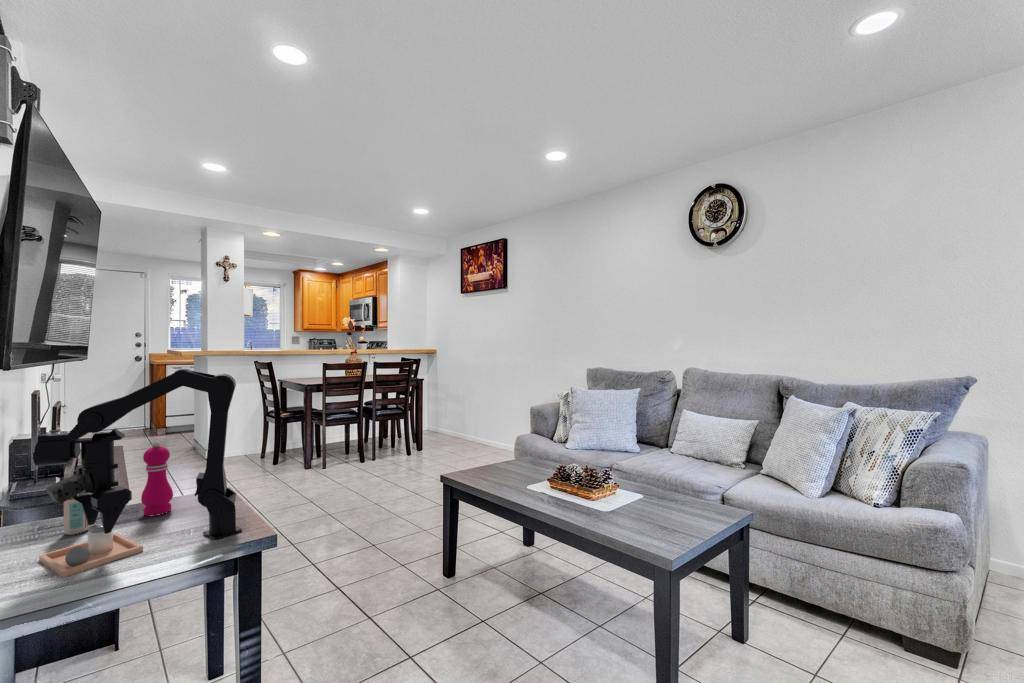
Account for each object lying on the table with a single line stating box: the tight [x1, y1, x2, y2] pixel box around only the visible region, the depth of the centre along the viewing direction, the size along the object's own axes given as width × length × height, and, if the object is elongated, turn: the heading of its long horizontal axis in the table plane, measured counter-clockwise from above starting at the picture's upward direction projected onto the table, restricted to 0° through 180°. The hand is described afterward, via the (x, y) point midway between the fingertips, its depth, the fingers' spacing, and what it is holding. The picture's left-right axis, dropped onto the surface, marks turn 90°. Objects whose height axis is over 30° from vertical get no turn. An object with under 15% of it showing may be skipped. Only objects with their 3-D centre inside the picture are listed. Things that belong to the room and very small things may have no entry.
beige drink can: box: [62, 498, 90, 536], centre depth 123 cm, size 5×5×12 cm
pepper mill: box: [140, 440, 174, 517], centre depth 136 cm, size 7×7×20 cm
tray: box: [38, 532, 144, 578], centre depth 109 cm, size 14×14×2 cm
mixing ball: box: [65, 546, 90, 567], centre depth 104 cm, size 4×4×4 cm
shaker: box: [87, 523, 114, 555], centre depth 112 cm, size 4×4×6 cm
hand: (99, 528), depth 111 cm, fingers open, 9 cm apart
